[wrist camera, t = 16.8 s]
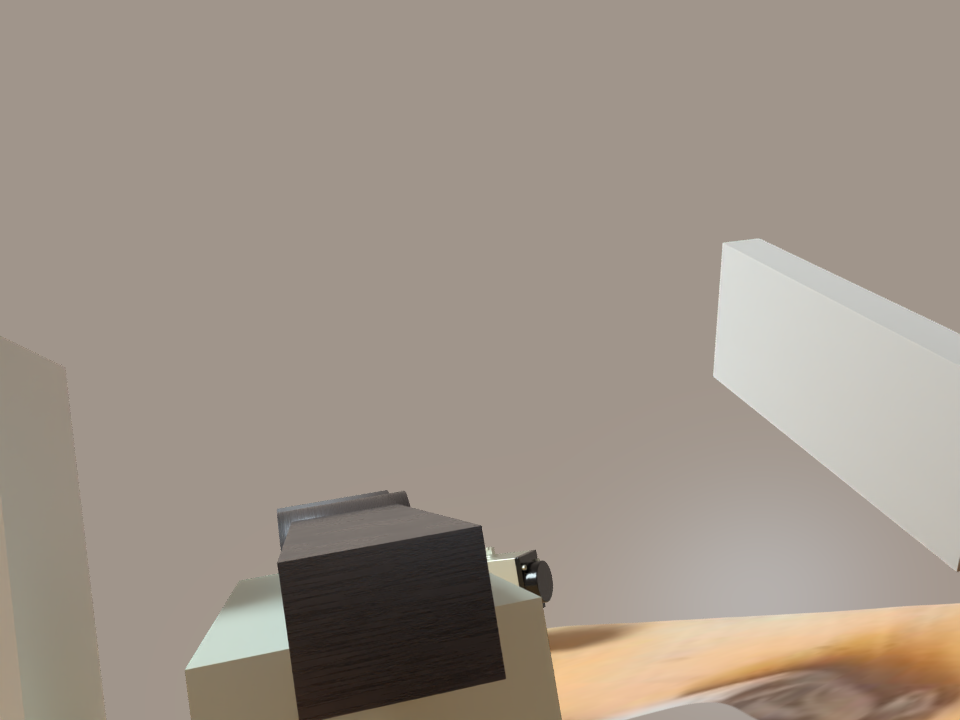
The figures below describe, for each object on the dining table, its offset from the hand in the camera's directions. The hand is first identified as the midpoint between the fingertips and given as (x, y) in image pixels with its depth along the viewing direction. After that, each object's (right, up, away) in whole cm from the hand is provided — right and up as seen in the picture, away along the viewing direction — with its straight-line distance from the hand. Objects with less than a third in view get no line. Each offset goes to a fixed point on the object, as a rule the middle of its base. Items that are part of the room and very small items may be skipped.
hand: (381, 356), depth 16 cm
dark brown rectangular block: (-2, -8, +11) cm, 14 cm away
